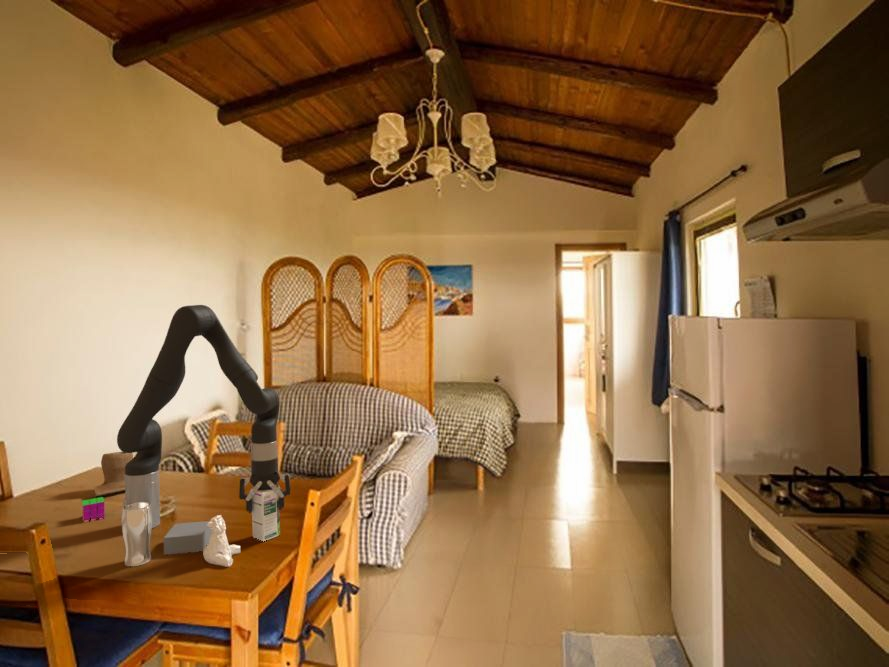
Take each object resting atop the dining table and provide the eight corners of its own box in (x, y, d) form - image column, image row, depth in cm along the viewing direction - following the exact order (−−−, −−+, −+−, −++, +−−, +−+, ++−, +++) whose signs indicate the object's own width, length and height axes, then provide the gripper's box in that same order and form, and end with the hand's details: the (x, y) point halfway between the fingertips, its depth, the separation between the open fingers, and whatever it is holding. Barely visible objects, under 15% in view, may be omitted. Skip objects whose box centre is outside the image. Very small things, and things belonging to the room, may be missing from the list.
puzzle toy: (103, 513, 171) (102, 496, 171) (104, 518, 167) (104, 501, 167) (82, 518, 168) (81, 500, 168) (83, 523, 163) (82, 505, 163)
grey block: (163, 555, 140) (163, 537, 140) (175, 540, 150) (175, 523, 150) (202, 552, 142) (202, 534, 142) (211, 537, 152) (211, 520, 152)
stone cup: (131, 483, 203) (130, 446, 203) (142, 489, 195) (141, 450, 195) (86, 493, 192) (85, 453, 191) (96, 500, 184) (95, 459, 183)
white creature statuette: (230, 567, 133) (229, 522, 132) (196, 569, 132) (195, 523, 132) (242, 551, 142) (241, 508, 142) (210, 552, 141) (209, 510, 141)
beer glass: (131, 555, 140) (129, 501, 139) (157, 554, 140) (156, 500, 140) (117, 568, 133) (115, 511, 132) (145, 566, 133) (143, 510, 133)
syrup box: (263, 542, 148) (262, 492, 147) (251, 537, 151) (251, 488, 151) (280, 535, 152) (279, 487, 152) (268, 531, 156) (267, 483, 155)
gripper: (237, 461, 145) (238, 518, 146) (289, 457, 149) (290, 512, 149) (240, 455, 153) (241, 508, 153) (290, 451, 156) (291, 503, 157)
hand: (265, 510), depth 151 cm, fingers open, 8 cm apart
